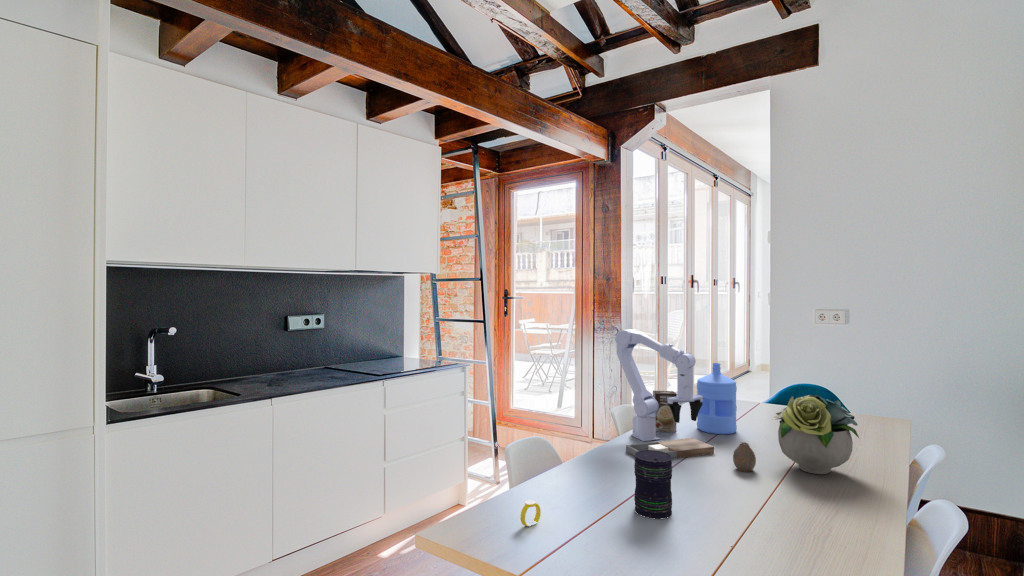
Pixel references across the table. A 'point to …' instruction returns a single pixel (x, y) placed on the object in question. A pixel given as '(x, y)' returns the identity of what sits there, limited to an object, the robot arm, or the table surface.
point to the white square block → (658, 448)
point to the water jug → (717, 403)
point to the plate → (688, 447)
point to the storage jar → (653, 484)
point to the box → (644, 446)
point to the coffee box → (664, 411)
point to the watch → (527, 504)
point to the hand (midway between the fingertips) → (685, 421)
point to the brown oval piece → (744, 457)
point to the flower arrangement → (816, 433)
